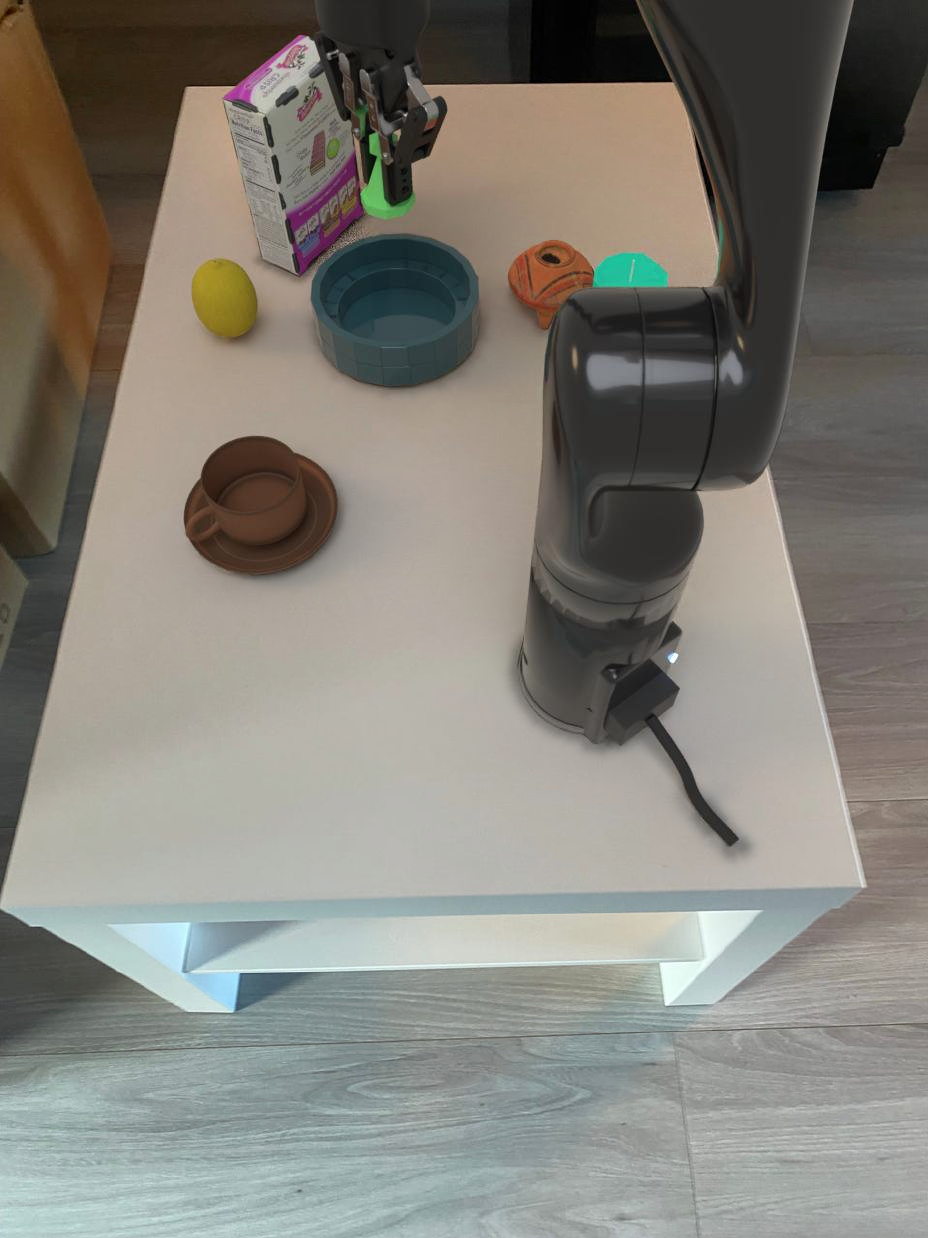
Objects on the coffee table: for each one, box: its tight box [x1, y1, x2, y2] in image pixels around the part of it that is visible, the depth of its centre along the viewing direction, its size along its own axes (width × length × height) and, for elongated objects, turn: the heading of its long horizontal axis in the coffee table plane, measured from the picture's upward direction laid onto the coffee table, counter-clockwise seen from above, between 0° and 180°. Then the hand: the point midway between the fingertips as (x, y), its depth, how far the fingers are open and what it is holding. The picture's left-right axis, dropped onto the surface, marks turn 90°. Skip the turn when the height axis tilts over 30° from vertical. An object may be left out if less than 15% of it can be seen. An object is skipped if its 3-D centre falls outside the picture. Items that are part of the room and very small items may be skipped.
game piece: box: [360, 132, 416, 220], centre depth 73 cm, size 4×4×6 cm
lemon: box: [190, 257, 259, 338], centre depth 83 cm, size 6×6×8 cm
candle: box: [593, 251, 669, 288], centre depth 79 cm, size 6×6×12 cm
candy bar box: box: [221, 34, 365, 277], centre depth 87 cm, size 11×5×16 cm, turn 148°
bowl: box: [310, 232, 480, 387], centre depth 85 cm, size 15×15×5 cm
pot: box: [507, 239, 595, 330], centre depth 86 cm, size 8×8×7 cm
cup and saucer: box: [183, 435, 339, 575], centre depth 73 cm, size 12×12×6 cm
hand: (388, 190), depth 74 cm, fingers closed on game piece, 2 cm apart
